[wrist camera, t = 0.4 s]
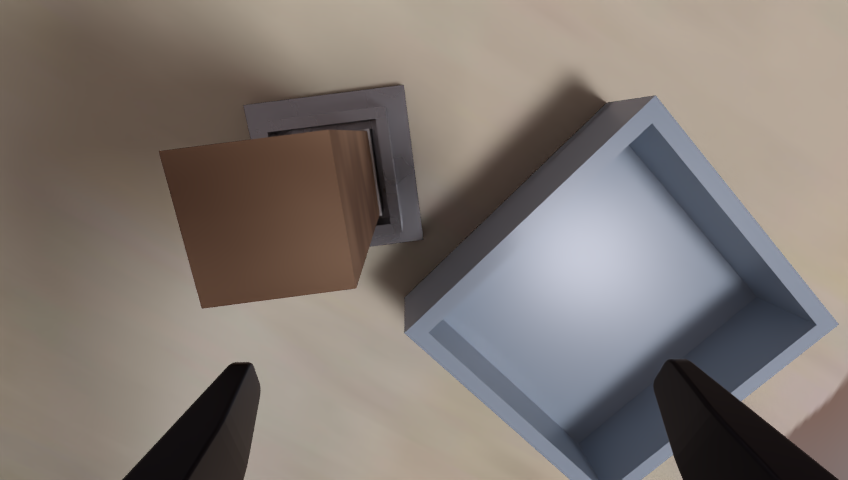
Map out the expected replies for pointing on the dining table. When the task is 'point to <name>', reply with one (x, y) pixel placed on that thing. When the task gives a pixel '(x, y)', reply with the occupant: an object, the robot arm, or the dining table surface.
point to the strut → (276, 213)
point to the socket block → (389, 136)
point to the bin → (612, 295)
